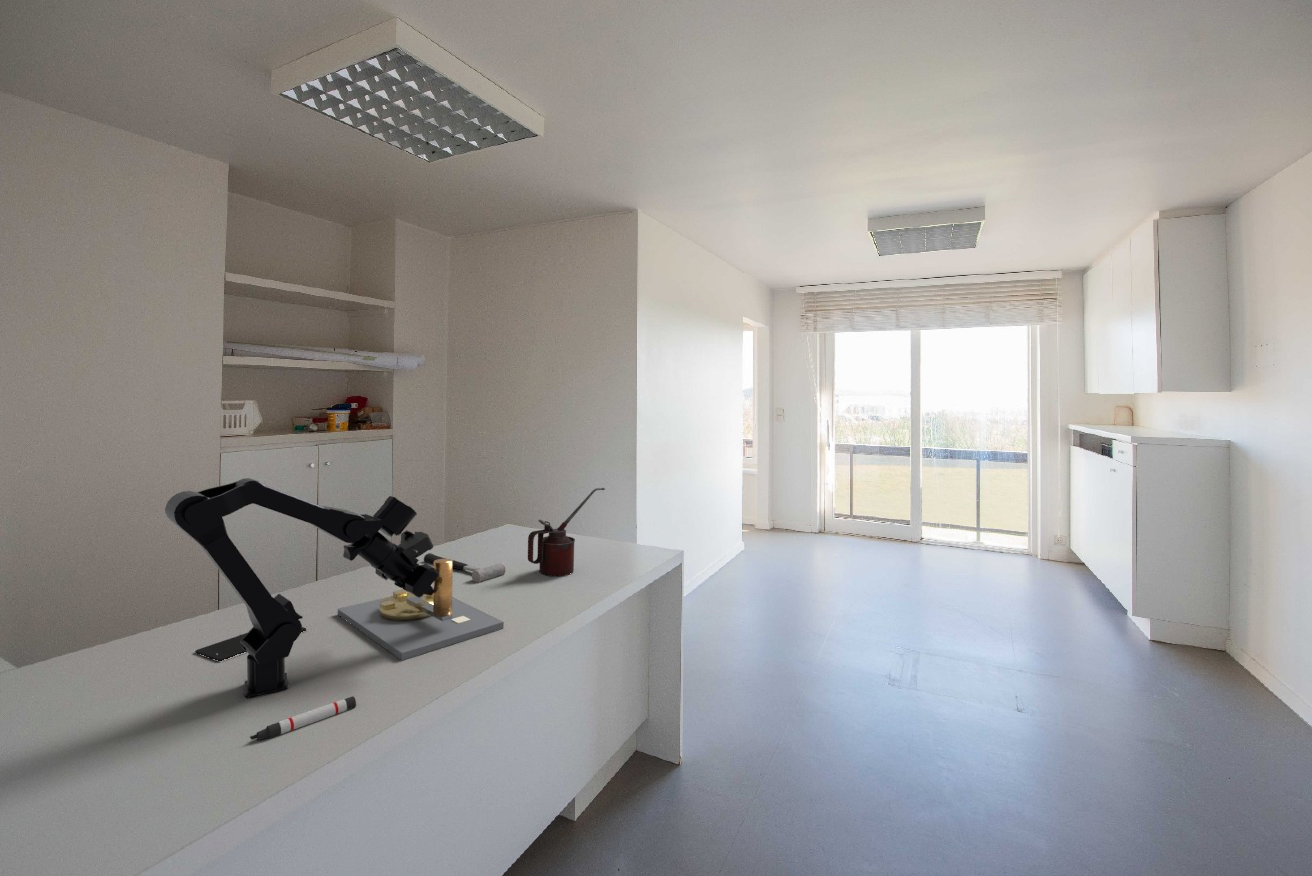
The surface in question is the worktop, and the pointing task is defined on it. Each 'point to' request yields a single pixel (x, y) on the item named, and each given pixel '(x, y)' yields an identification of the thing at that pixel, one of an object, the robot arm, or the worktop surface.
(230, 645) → the cell phone
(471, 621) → the grey rectangular board
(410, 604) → the brass wheel crank mechanism
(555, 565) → the oil can
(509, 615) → the worktop surface
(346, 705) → the marker
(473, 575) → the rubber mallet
